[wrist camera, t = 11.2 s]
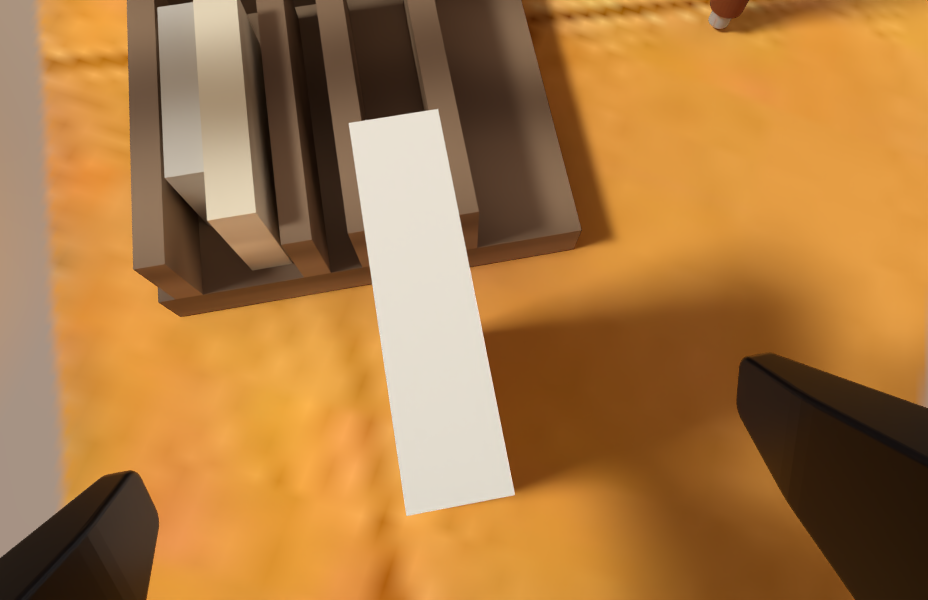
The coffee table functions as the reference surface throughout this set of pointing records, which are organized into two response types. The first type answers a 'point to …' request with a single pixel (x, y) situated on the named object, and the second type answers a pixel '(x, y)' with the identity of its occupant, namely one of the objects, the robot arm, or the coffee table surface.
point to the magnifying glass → (725, 11)
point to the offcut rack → (325, 138)
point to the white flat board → (428, 317)
